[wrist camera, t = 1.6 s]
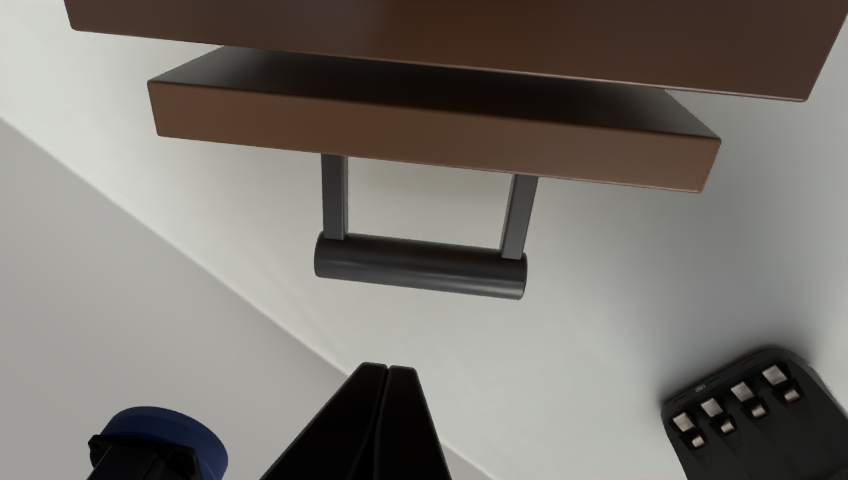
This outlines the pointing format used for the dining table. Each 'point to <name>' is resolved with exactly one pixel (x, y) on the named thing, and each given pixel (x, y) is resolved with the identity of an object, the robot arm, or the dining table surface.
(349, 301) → the dining table surface
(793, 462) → the battery charger
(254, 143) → the drawer
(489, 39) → the cabinet
